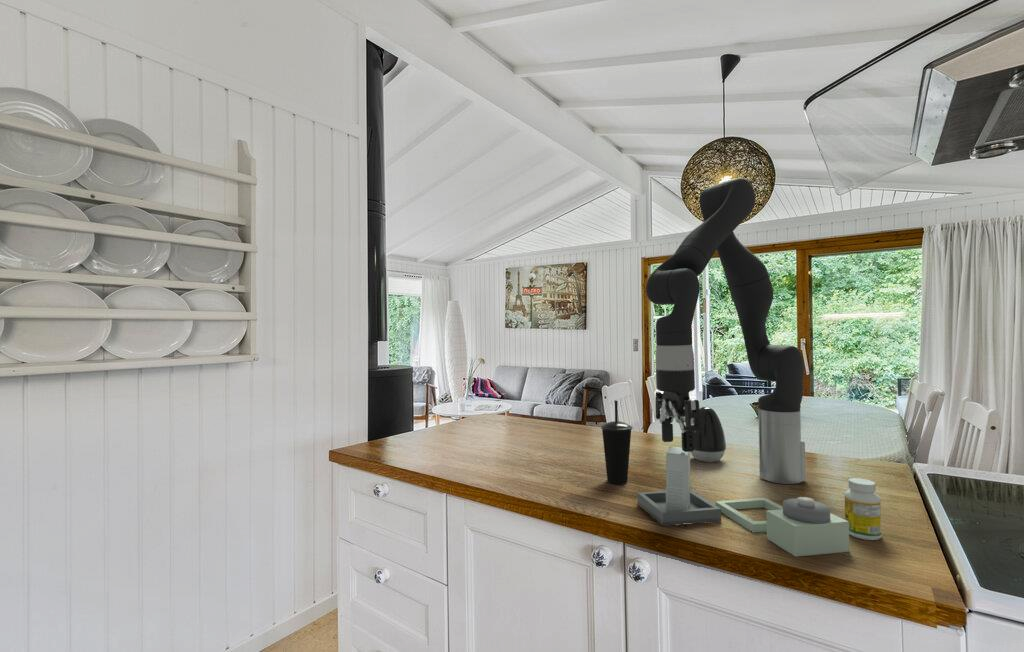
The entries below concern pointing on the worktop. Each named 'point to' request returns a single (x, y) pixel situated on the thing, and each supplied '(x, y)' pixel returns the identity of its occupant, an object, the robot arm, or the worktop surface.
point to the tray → (696, 513)
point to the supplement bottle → (863, 509)
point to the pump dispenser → (709, 437)
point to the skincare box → (677, 479)
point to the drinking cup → (616, 449)
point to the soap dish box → (794, 524)
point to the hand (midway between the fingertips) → (677, 446)
